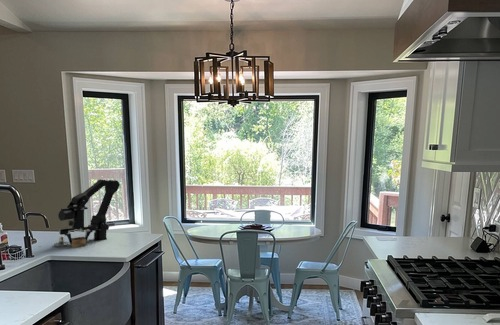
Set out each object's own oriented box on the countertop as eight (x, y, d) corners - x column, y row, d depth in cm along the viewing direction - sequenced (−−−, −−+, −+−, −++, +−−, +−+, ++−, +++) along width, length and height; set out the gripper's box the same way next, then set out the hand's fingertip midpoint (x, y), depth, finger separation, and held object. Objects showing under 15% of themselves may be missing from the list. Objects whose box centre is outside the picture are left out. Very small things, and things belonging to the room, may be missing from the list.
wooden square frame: (83, 242, 179) (83, 236, 179) (85, 245, 173) (85, 239, 173) (70, 244, 175) (70, 238, 175) (72, 247, 169) (72, 241, 169)
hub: (67, 242, 178) (67, 234, 178) (68, 245, 173) (68, 237, 173) (53, 244, 174) (53, 236, 174) (54, 247, 168) (54, 239, 168)
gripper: (93, 213, 186) (92, 238, 186) (58, 216, 174) (58, 242, 175) (97, 216, 177) (96, 242, 177) (60, 220, 166) (60, 247, 166)
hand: (78, 243), depth 174 cm, fingers closed on wooden square frame, 7 cm apart
